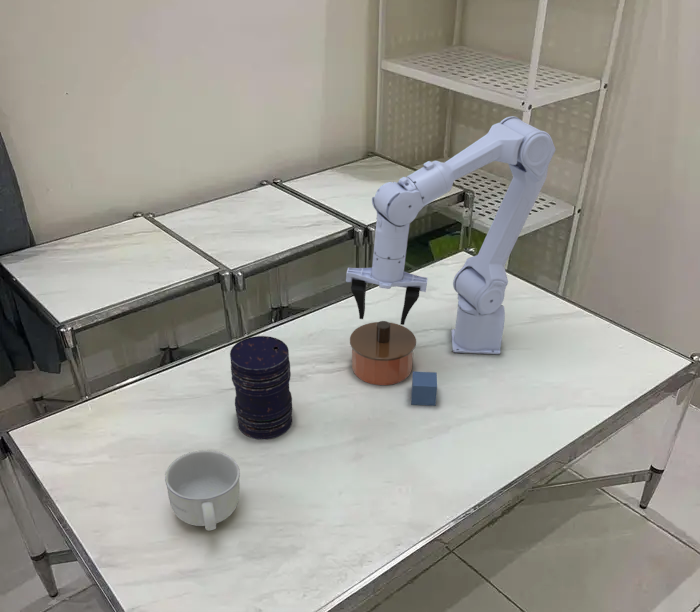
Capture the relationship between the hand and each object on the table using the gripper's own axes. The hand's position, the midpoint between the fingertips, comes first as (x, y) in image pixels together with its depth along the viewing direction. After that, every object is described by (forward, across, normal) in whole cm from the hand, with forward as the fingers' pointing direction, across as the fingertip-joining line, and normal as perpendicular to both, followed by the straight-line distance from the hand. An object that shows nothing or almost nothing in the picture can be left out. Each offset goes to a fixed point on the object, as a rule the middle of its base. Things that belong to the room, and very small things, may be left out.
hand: (382, 319), depth 135 cm
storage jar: (+13, -18, -19) cm, 29 cm away
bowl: (+11, +1, 0) cm, 11 cm away
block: (+11, +10, -8) cm, 17 cm away
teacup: (+14, -21, -42) cm, 49 cm away
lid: (+5, +1, 0) cm, 5 cm away
